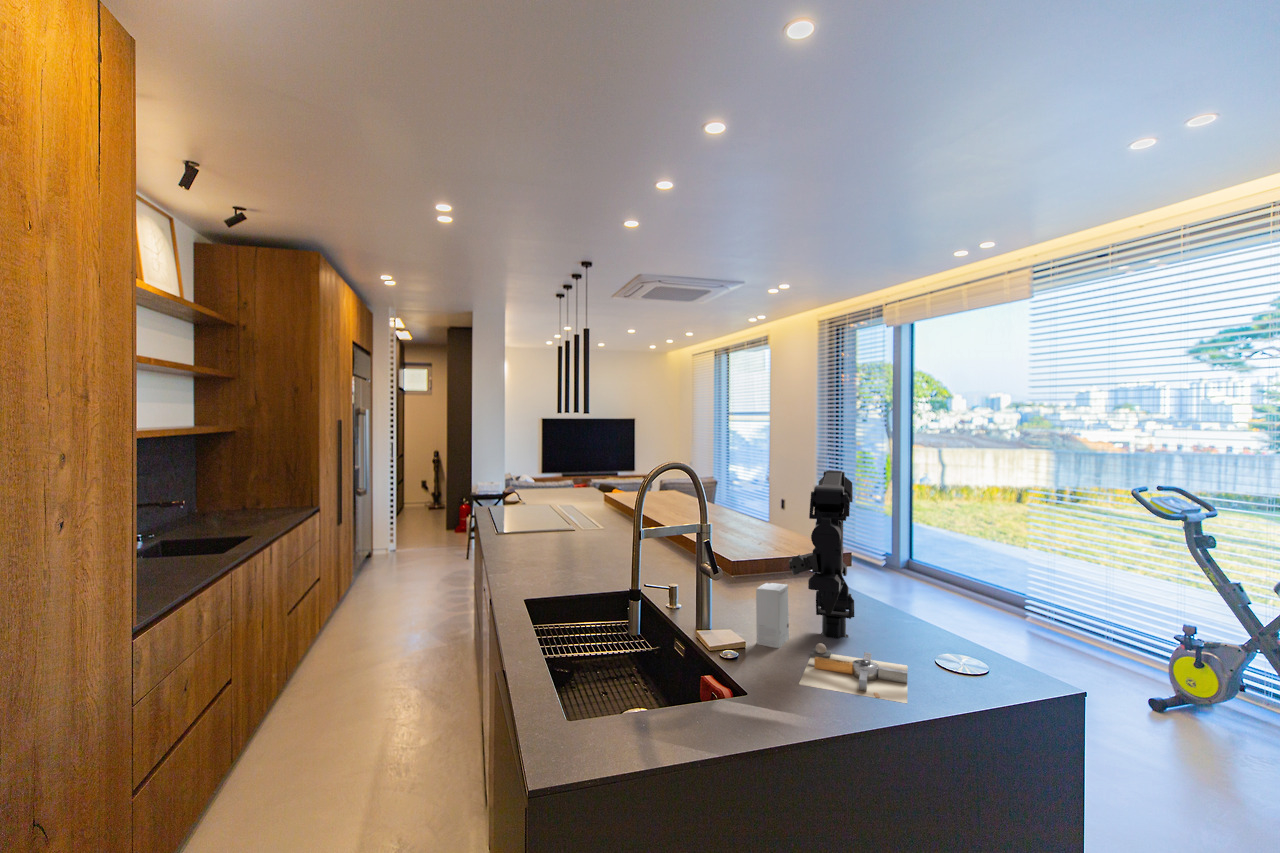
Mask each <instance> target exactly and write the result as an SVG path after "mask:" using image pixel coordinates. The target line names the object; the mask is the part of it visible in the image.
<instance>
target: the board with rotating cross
mask: <svg viewBox="0 0 1280 853" xmlns="http://www.w3.org/2000/svg"><path fill="white" fill-rule="evenodd" d="M815 657H821V658H828V659H834V660H841V661H847V662H853V661H855V660H863V658H862V657H861V658H860V657H854V656H847V655H841V654H834V653H832V650H831V649H827V647H826V645H825V644H823V643H822V642H821V643H820V642H819V643H817V644H816V645H815V647H812V649H811V652H810V658H809V660H808V662H807V664H806V667H805V669H804V671H803V673H802V675H801V678H800V681H799V683H798V685H799V686H804V687H812V688H817V689H822V690H828V691H834V692H840V693H845V694H851V695H856V696H860V697H861V696H862V697H868V698H874V699H877V700H879V699H880V700H886V701H890V702H897V703H903V704H908V682H907V683H902V682H896V681H890V680H884V679H878V680H876V681H868V685H867V691H864V690H859V679H857V678H855V677H854V676H853V674H847V673H841V672H835V671H829V670H823V669H816V668H815ZM871 661H872V662H875V663H877V664H878V667H886V668H892V669H898V670H905V671H908V672H909V670H908V668H909V667H908V665H906V664H900V663H894V662H887V661H881V660H874V659H871ZM907 677H908V673H907Z"/></svg>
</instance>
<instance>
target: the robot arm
mask: <svg viewBox="0 0 1280 853" xmlns="http://www.w3.org/2000/svg"><path fill="white" fill-rule="evenodd" d="M845 474H846V473H845V471H842V470H826V471H825V470H824V471H823V476H822V478H820V479H819V480H818V484H817V485H815V486H814V488H813V490H812V491H810V500H809V503H810V504H809V516H808V517H809V519H810V520H815V525H814V528H813V530H812V533H811V535H810V539H811V540H810V541H811V542H812V545H813V546H814V548H813V549H812V552H809V553H805V554H802V555H801V554H798V555H796V556H794V555H793V556H792V557H791V558H790V559H789V561H788V564H789V567H788V568H789V570H791V573H792V575H794V576H795V575H799V574H800V573H803V572H807V571H811V570H812V575H811V576H810V577H809V579H808V580H807V582H808V585H807V587H808V589H809V590H812V591H815V612H816V613H815V615H816V616H821V625H822V626H821V628H822V629H821V634H820V635H824V636H825V637H826V638H829V639H837V640H839V639H840V638H846V639H849V637H850V636H849V634H847V619H849V620H851V619H852V618H855V599H854V598H853V596H852V593H849V591H850V590H849V588H850V587H849V586H848V583H847V582H846V580H845V578H844V577H847V575H848V565H847V564H846V563H845V562H844V559H843V558H844V521H847V517H848V518H849V517H850V511H851V510H850V509H851V503H853V502H854V501H853V499H854V497H853V490H854V488H853V482H852V481H851V480H850V479H849V478H847V477H846V475H845Z"/></svg>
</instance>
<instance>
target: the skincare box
mask: <svg viewBox="0 0 1280 853" xmlns="http://www.w3.org/2000/svg"><path fill="white" fill-rule="evenodd" d="M755 591H756V592H755V593H756V594H755V595H756V597H755V600H756V601H755V603H756V606H755V607H756V608H755V609H756V616H755V617H756V619H755V620H756V624H755V625H756V645H758V646H759V645H760V646H765V647H770V648H775V649H781V647H783V645H784V644H786V642H787V641H788V640H789V638H790V633H789V632H790V630H789V629H790V628H789V626H790V623H789V619H790V618H789V616H790V615H789V614H790V613H789V584H786V583H785V584H784V583H775V582H765V583H764V584H761V585H760V586H758V587H757V588H756V589H755Z"/></svg>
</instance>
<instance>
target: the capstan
mask: <svg viewBox="0 0 1280 853" xmlns="http://www.w3.org/2000/svg"><path fill="white" fill-rule="evenodd" d="M862 659H863V660H855V661H853V662H847V661H841V660H834V659H828V658H821V657H815V668H816V669H823V670H829V671H835V672H841V673H847V674H853V676H854V677H855V678H857V679H859V690H864V691H867V685H868V681H876V680H878V679H884V680H890V681H896V682H902V683H907V684H908V676H907V673H908V672H909V670H908V671H905V670H898V669H892V668H886V667H878V664H877V663H875V662H872V661H871V660H872V653H871V652H865V651H864V654H863V658H862Z"/></svg>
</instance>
